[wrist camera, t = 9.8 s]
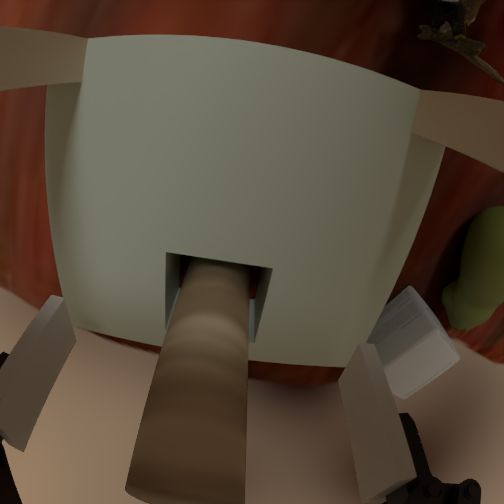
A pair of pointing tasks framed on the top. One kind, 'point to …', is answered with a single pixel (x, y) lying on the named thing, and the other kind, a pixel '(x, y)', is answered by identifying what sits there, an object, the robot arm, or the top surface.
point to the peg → (198, 394)
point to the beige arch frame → (425, 125)
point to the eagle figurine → (458, 31)
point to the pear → (478, 272)
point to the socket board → (234, 187)
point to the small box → (411, 344)
